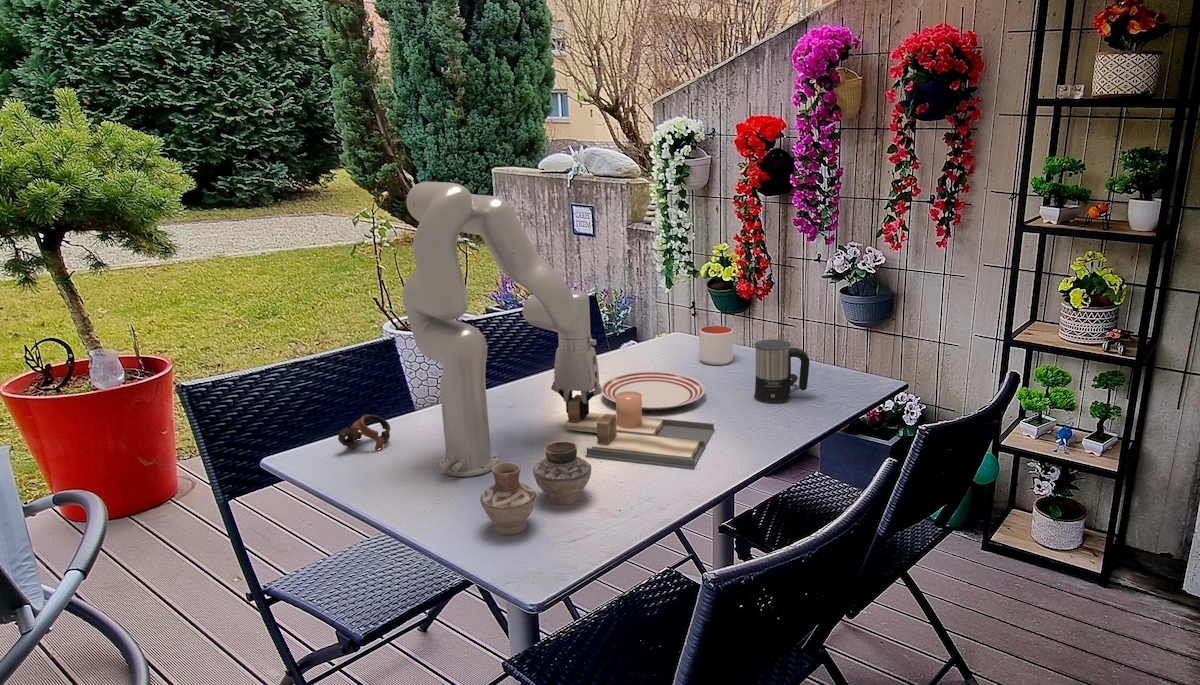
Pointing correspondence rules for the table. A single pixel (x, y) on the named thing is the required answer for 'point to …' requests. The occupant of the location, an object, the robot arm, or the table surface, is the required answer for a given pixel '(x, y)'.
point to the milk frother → (777, 370)
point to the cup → (716, 345)
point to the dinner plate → (655, 388)
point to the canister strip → (591, 419)
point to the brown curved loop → (365, 432)
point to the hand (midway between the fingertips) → (577, 415)
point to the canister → (629, 409)
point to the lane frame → (668, 430)
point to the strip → (641, 441)
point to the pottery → (516, 500)
